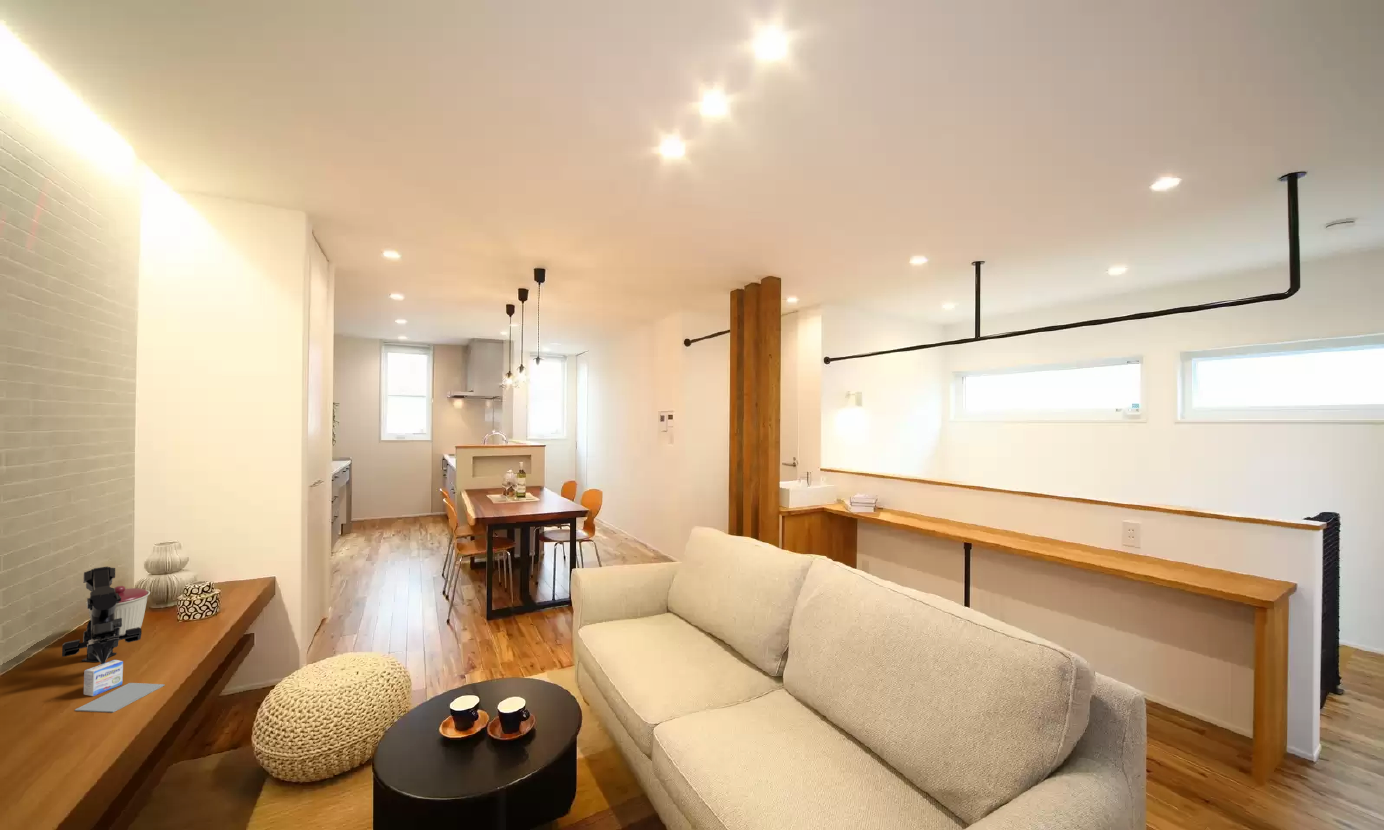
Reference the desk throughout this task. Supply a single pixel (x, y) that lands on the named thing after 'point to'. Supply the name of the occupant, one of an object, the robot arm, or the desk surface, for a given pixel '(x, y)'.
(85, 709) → the slate mat
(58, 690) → the desk surface
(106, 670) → the medicine box
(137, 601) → the canister
